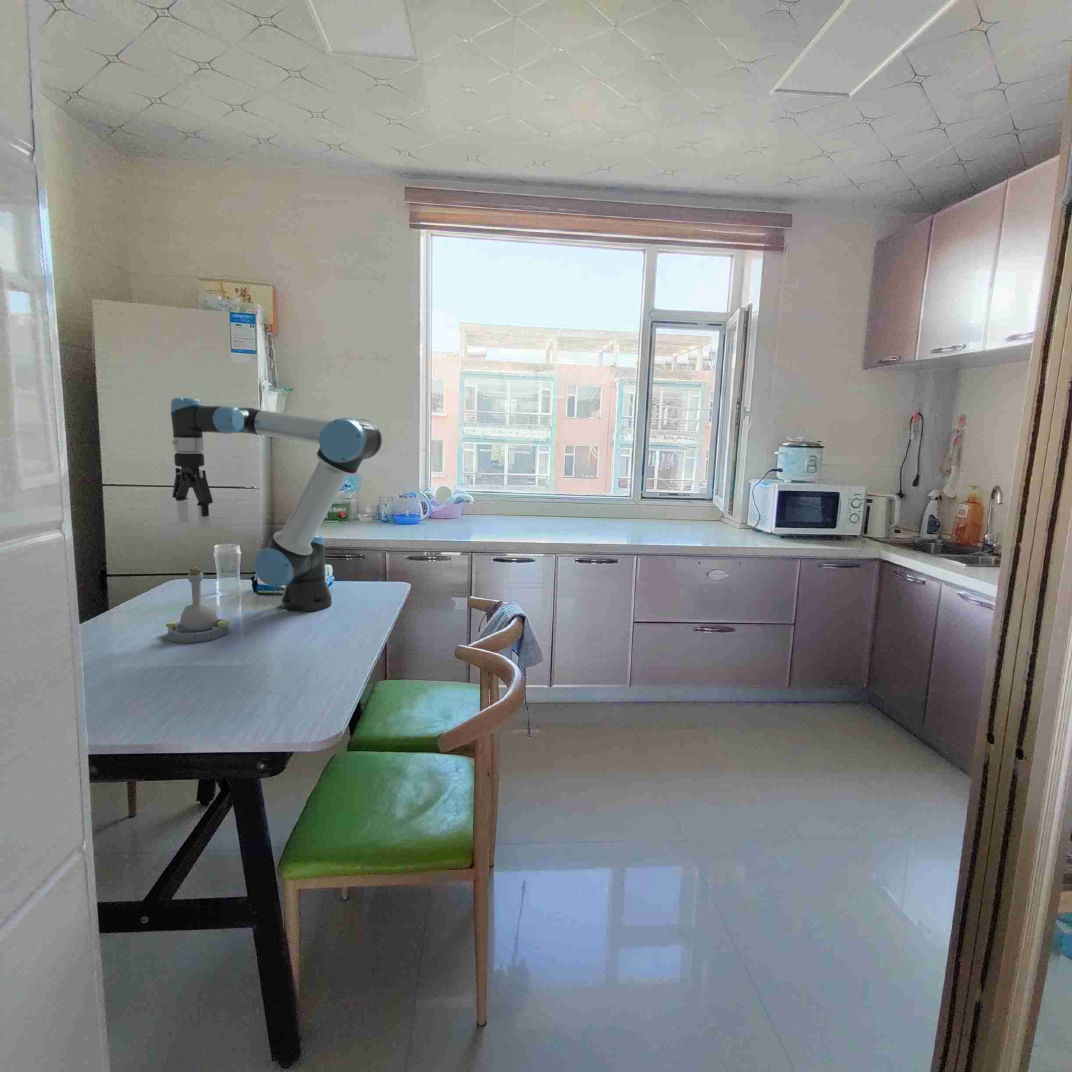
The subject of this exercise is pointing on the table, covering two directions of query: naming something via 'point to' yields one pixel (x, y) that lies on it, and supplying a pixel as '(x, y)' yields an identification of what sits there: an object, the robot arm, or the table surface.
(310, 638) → the table surface
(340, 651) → the table surface
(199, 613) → the potion bottle
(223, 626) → the grey flat ring
